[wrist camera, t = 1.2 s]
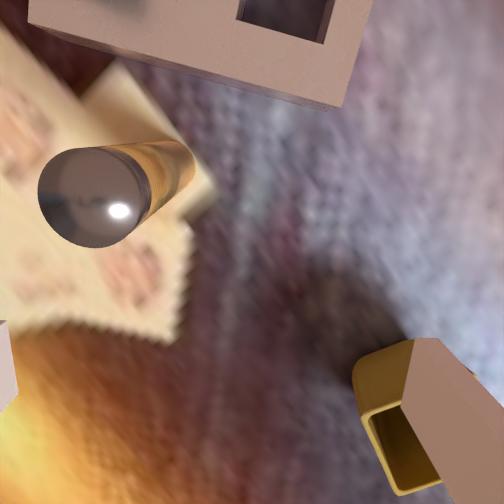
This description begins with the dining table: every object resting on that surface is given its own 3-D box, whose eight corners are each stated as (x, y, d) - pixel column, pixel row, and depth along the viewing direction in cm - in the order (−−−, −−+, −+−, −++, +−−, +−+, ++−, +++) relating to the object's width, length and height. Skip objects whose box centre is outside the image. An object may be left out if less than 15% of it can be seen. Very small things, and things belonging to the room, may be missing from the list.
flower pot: (332, 348, 35) (359, 416, 27) (420, 313, 34) (477, 373, 26) (363, 415, 38) (396, 498, 29) (445, 385, 37) (506, 462, 28)
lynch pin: (142, 184, 30) (34, 235, 15) (150, 135, 29) (41, 136, 14) (190, 195, 31) (131, 257, 15) (199, 147, 29) (146, 162, 14)
